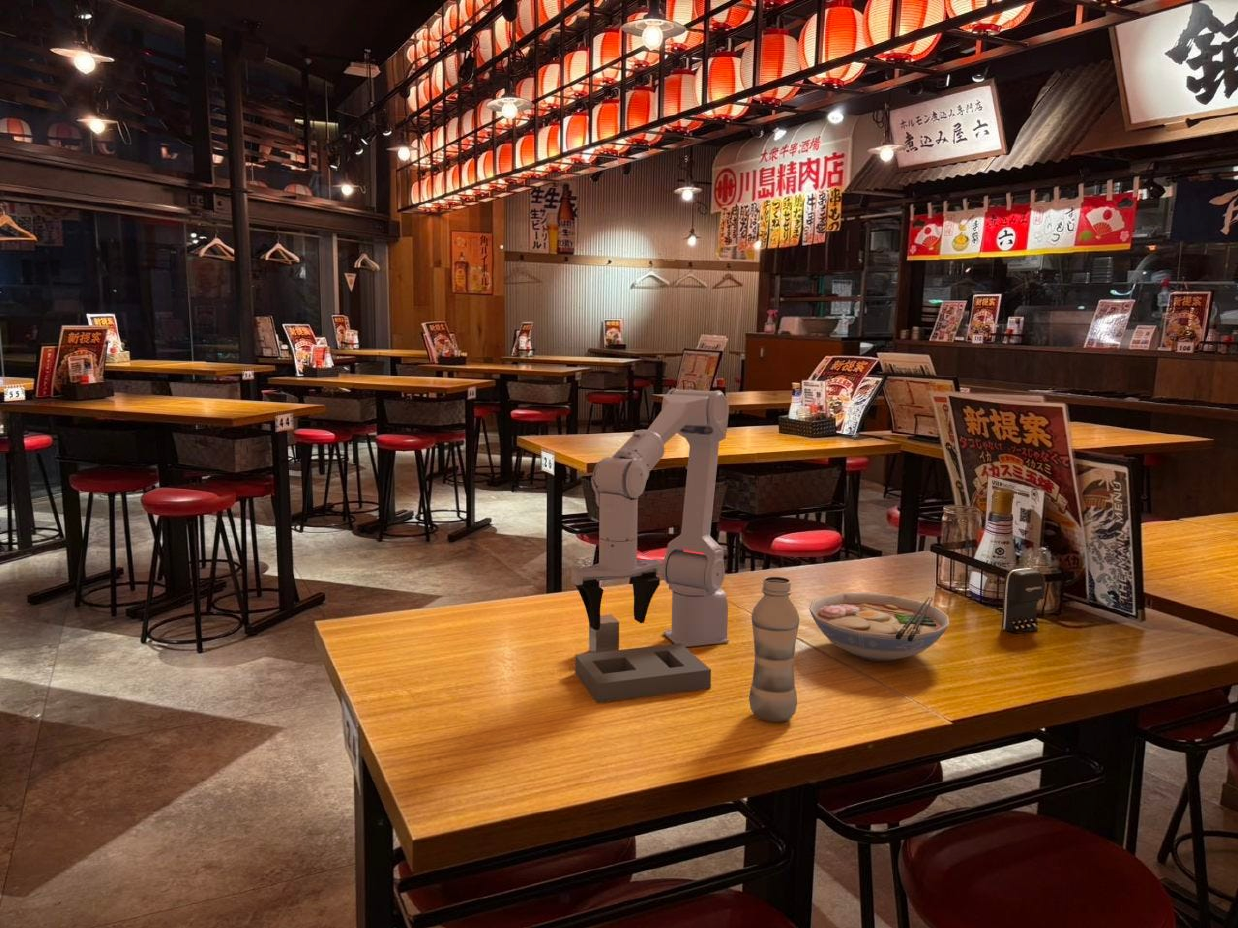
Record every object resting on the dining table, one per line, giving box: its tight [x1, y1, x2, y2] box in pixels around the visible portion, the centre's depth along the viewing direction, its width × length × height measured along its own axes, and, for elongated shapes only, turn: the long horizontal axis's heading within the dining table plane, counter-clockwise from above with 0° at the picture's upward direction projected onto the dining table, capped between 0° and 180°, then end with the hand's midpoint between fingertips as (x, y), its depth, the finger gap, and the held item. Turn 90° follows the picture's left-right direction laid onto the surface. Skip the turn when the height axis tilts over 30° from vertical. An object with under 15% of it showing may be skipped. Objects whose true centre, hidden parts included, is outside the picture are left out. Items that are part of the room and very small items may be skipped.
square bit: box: [588, 614, 620, 653], centre depth 146 cm, size 4×4×6 cm
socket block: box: [574, 643, 712, 704], centre depth 135 cm, size 18×12×3 cm, turn 109°
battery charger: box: [1001, 567, 1046, 634], centre depth 159 cm, size 7×4×11 cm, turn 111°
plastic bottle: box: [748, 576, 800, 723], centre depth 121 cm, size 6×7×20 cm
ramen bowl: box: [808, 592, 950, 662], centre depth 147 cm, size 25×23×8 cm
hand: (617, 624), depth 132 cm, fingers open, 7 cm apart
